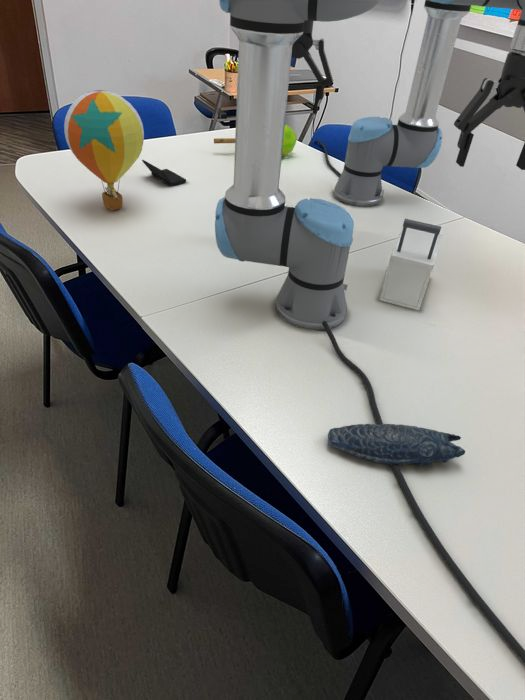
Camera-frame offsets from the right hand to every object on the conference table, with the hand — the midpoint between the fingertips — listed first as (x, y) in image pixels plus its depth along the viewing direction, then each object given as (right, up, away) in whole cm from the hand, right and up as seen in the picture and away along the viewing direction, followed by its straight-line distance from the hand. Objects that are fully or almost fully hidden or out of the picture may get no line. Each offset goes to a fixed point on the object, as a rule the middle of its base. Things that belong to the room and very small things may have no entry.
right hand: (490, 166), depth 111 cm
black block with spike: (-80, +14, +53) cm, 97 cm away
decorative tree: (-51, +32, +78) cm, 99 cm away
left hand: (-42, +23, +24) cm, 53 cm away
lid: (-14, -17, +5) cm, 22 cm away
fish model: (-28, -56, -28) cm, 68 cm away
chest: (-15, -25, +12) cm, 31 cm away
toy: (-90, 0, +34) cm, 97 cm away
